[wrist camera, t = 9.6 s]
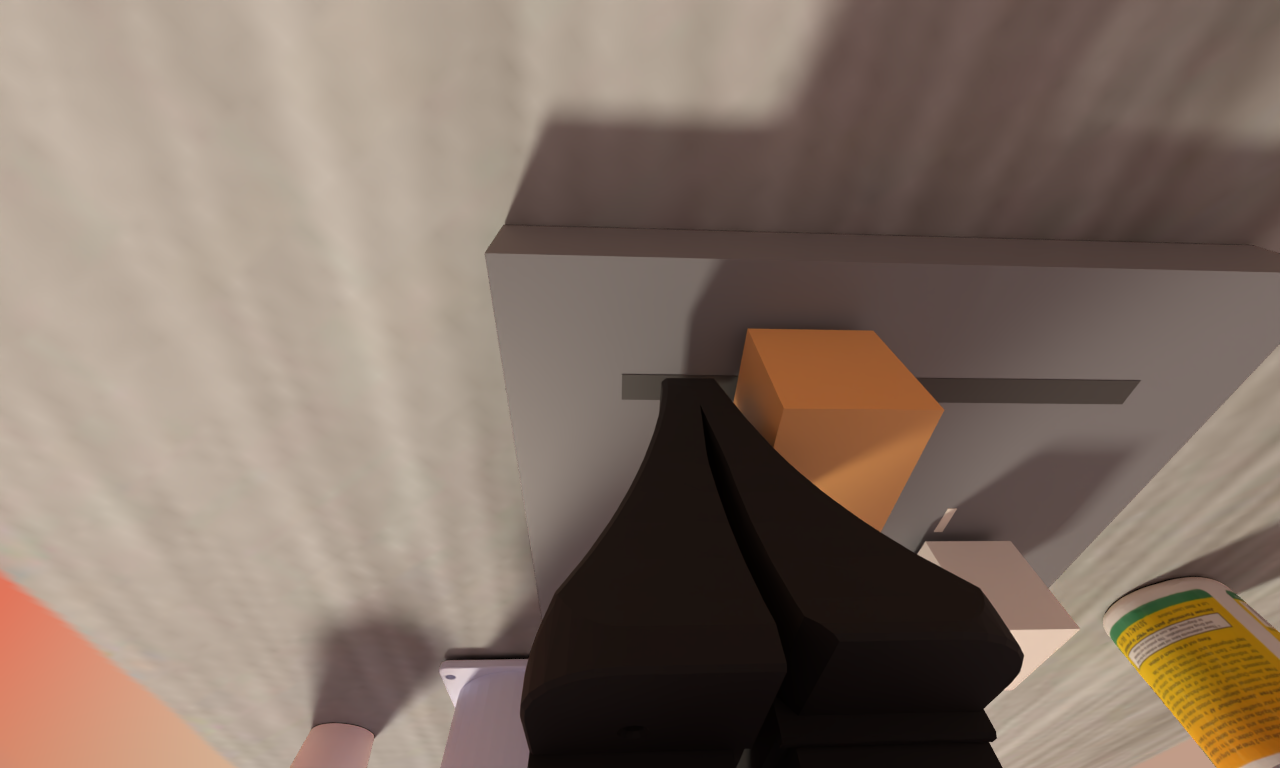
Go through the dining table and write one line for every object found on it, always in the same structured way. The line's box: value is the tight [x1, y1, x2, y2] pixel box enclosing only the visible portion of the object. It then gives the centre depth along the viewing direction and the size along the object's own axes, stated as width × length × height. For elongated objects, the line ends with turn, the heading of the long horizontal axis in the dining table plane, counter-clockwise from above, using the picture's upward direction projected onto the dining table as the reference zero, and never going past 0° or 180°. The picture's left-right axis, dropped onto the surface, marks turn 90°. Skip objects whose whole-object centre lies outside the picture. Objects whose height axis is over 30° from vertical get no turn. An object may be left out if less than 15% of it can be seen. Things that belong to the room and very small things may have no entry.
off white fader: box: [917, 541, 1080, 690], centre depth 16 cm, size 4×3×3 cm
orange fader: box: [733, 328, 944, 532], centre depth 11 cm, size 4×3×3 cm
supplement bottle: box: [1103, 577, 1280, 768], centre depth 20 cm, size 5×5×10 cm
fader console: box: [485, 225, 1280, 620], centre depth 16 cm, size 15×20×2 cm
